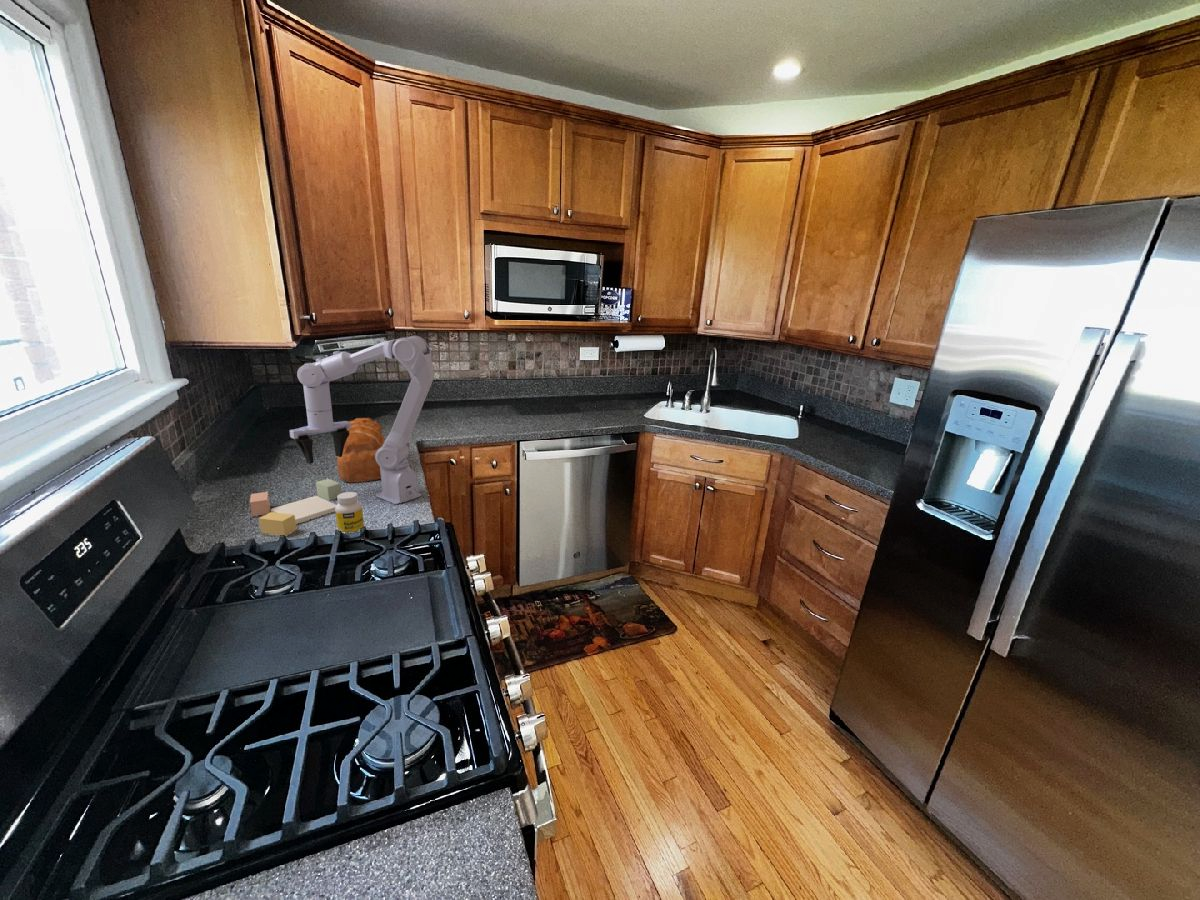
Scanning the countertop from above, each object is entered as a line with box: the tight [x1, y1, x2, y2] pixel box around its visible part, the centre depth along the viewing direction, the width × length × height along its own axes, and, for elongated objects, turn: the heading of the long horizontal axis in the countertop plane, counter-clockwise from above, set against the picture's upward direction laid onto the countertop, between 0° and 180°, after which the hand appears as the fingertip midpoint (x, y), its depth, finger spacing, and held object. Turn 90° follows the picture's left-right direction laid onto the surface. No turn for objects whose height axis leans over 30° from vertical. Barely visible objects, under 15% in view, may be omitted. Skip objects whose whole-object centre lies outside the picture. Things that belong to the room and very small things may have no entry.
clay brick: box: [249, 491, 271, 517], centre depth 118 cm, size 6×4×4 cm, turn 33°
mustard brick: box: [258, 511, 298, 536], centre depth 108 cm, size 6×4×4 cm, turn 81°
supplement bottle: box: [334, 491, 365, 533], centre depth 107 cm, size 5×5×10 cm
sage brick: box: [315, 478, 343, 502], centre depth 128 cm, size 6×4×4 cm, turn 57°
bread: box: [336, 417, 386, 483], centre depth 149 cm, size 14×26×16 cm, turn 25°
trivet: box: [270, 495, 337, 525], centre depth 119 cm, size 11×11×1 cm
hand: (324, 459), depth 126 cm, fingers open, 7 cm apart
